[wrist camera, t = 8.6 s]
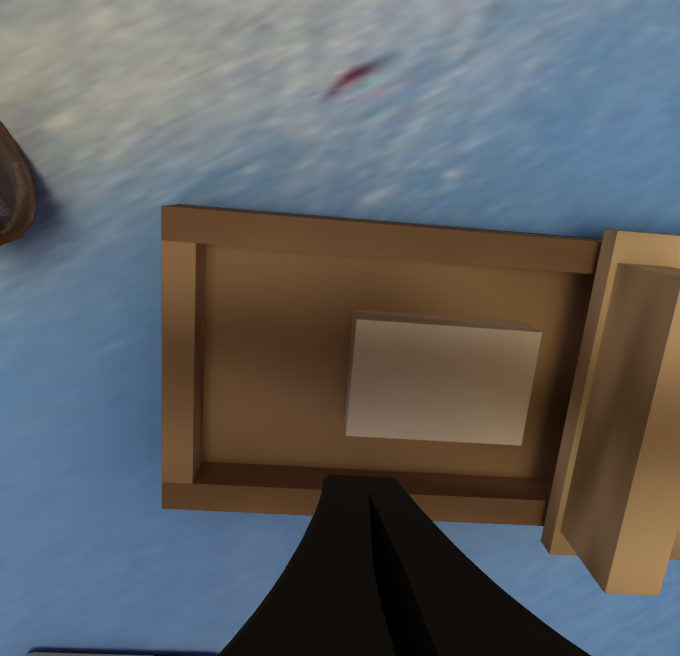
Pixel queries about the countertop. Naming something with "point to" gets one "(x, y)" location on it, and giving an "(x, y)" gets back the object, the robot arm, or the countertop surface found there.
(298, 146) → the countertop surface
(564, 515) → the cover plate
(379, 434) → the box
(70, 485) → the countertop surface
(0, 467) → the countertop surface
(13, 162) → the tin
